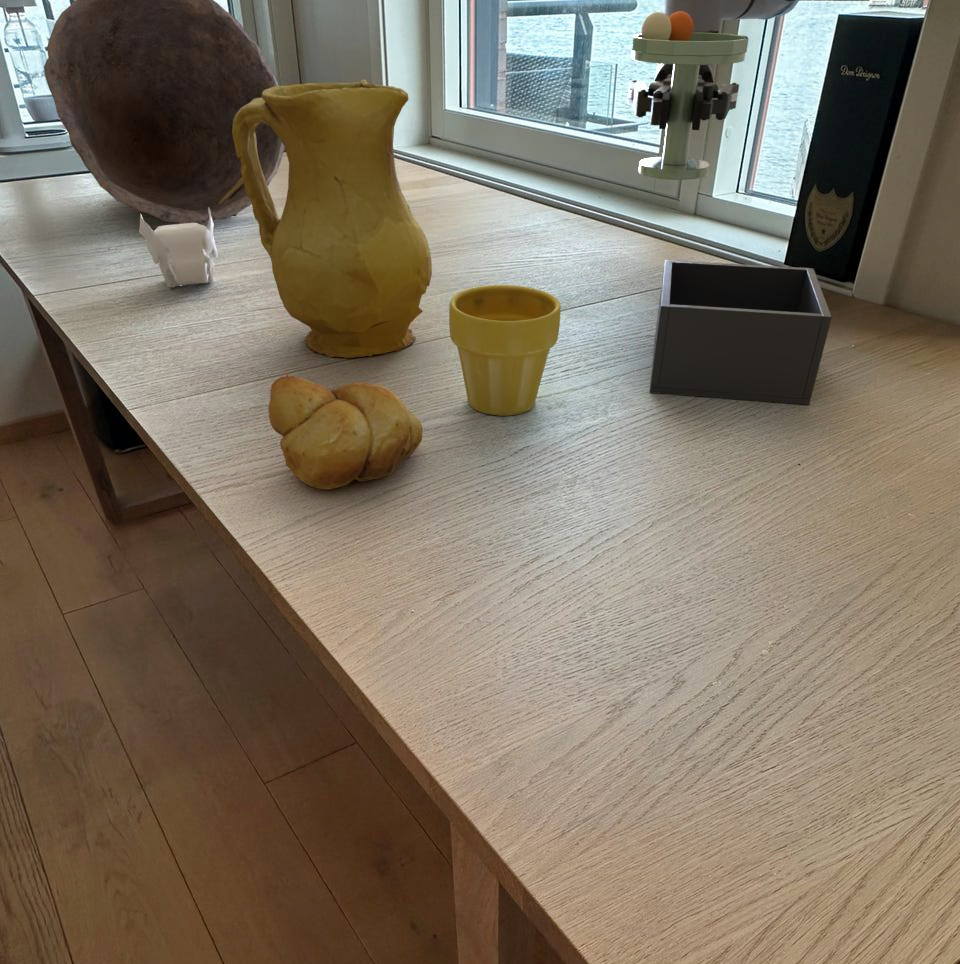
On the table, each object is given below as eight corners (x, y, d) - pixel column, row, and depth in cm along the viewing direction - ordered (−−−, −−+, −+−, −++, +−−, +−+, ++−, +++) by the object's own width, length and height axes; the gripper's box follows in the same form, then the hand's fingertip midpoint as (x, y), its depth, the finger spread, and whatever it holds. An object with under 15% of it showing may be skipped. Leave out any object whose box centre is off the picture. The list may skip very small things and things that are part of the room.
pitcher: (352, 376, 88) (322, 90, 74) (247, 342, 99) (202, 84, 84) (466, 338, 99) (459, 79, 84) (360, 310, 109) (337, 76, 94)
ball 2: (695, 2, 93) (691, 24, 96) (665, 4, 93) (662, 26, 96) (695, 32, 93) (691, 52, 96) (665, 34, 93) (662, 54, 96)
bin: (794, 348, 96) (813, 268, 91) (809, 405, 84) (832, 316, 79) (654, 338, 99) (665, 259, 93) (649, 392, 87) (661, 306, 81)
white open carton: (159, 302, 108) (142, 226, 102) (148, 276, 116) (131, 204, 111) (235, 293, 111) (222, 219, 105) (219, 268, 119) (206, 198, 114)
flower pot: (576, 408, 84) (584, 306, 78) (489, 434, 79) (490, 328, 73) (514, 374, 90) (517, 277, 84) (430, 396, 86) (427, 296, 80)
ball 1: (682, 19, 92) (667, 38, 95) (659, -2, 91) (645, 18, 94) (667, 42, 92) (653, 60, 95) (644, 21, 91) (631, 40, 94)
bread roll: (406, 432, 80) (401, 346, 74) (448, 477, 73) (446, 387, 68) (270, 459, 75) (255, 370, 70) (300, 510, 68) (286, 416, 63)
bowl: (107, 6, 148) (119, -92, 122) (280, 151, 164) (325, 92, 138) (4, 172, 146) (-5, 108, 119) (190, 302, 162) (218, 272, 136)
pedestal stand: (724, 164, 103) (745, 33, 95) (727, 185, 94) (750, 42, 86) (624, 161, 105) (636, 31, 97) (617, 181, 96) (630, 40, 88)
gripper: (740, 123, 110) (750, 157, 93) (617, 119, 113) (603, 152, 95) (752, 53, 106) (764, 74, 88) (623, 50, 108) (609, 71, 90)
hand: (680, 114), depth 91 cm, fingers closed on pedestal stand, 3 cm apart
